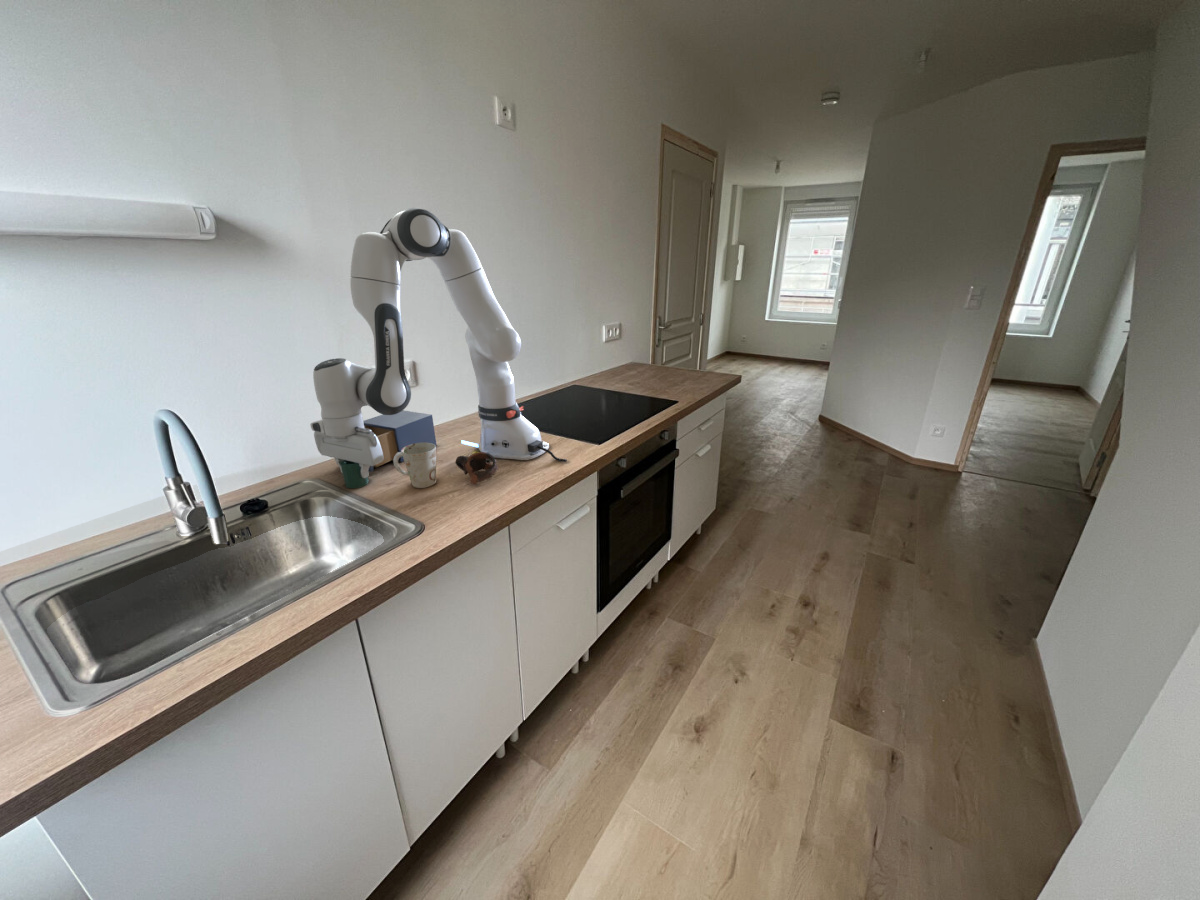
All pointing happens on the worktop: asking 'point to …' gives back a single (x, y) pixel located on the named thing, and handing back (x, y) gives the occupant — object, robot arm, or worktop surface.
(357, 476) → the jar
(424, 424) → the cabinet
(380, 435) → the drawer
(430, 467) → the mug
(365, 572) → the worktop surface
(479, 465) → the pottery mug
